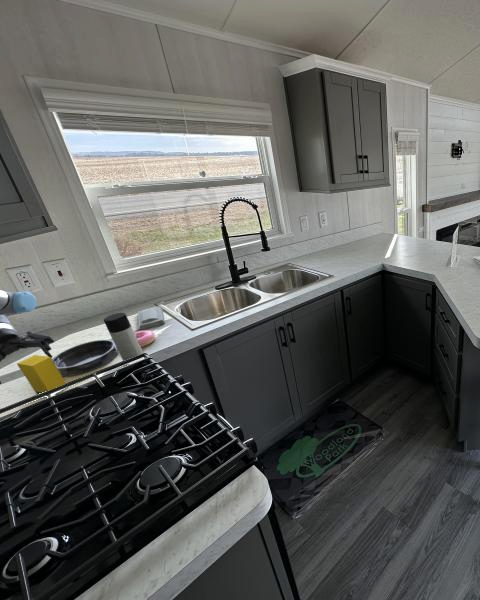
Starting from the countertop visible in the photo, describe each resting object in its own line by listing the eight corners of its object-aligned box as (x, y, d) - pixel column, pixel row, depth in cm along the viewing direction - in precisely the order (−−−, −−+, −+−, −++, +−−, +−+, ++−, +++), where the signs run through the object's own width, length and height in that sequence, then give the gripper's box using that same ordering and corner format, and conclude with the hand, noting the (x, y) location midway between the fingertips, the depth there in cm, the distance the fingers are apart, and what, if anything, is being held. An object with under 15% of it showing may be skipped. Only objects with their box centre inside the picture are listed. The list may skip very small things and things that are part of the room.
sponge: (37, 394, 112) (16, 363, 107) (53, 385, 116) (35, 354, 111) (52, 397, 111) (32, 365, 105) (68, 387, 115) (50, 356, 109)
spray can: (149, 356, 131) (130, 312, 122) (134, 367, 125) (113, 321, 116) (135, 355, 132) (115, 311, 123) (120, 365, 126) (97, 320, 117)
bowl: (48, 383, 117) (42, 374, 116) (62, 357, 132) (57, 349, 130) (115, 365, 126) (111, 356, 125) (121, 342, 141) (117, 334, 139)
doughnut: (118, 350, 136) (114, 342, 134) (138, 336, 146) (135, 328, 144) (143, 350, 135) (140, 341, 133) (162, 336, 145) (159, 328, 143)
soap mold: (162, 308, 170) (160, 302, 169) (165, 323, 156) (162, 316, 154) (138, 314, 165) (135, 308, 164) (138, 330, 150) (135, 323, 149)
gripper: (52, 324, 128) (75, 351, 120) (-37, 366, 113) (-18, 400, 105) (39, 311, 123) (61, 338, 115) (-56, 353, 108) (-38, 387, 100)
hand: (23, 368), depth 110 cm, fingers open, 13 cm apart
